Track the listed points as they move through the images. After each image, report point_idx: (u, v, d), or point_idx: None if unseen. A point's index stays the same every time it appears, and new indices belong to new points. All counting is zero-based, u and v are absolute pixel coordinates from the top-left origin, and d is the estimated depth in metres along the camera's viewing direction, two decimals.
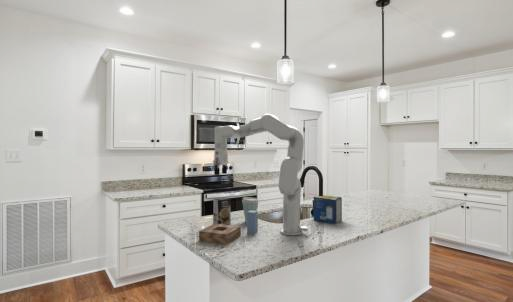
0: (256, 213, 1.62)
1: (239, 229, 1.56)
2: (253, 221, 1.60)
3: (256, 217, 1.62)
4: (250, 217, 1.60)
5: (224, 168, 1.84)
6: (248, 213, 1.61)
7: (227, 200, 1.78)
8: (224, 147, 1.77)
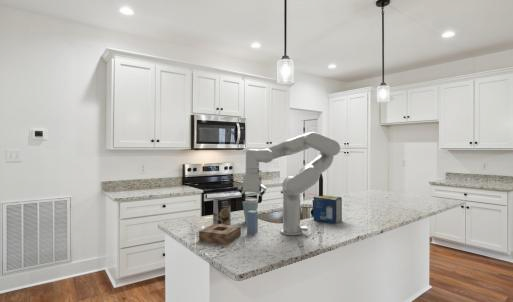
0: (256, 213, 1.62)
1: (239, 229, 1.56)
2: (253, 221, 1.60)
3: (256, 217, 1.62)
4: (250, 217, 1.60)
5: (244, 195, 1.64)
6: (248, 213, 1.61)
7: (227, 200, 1.78)
8: None
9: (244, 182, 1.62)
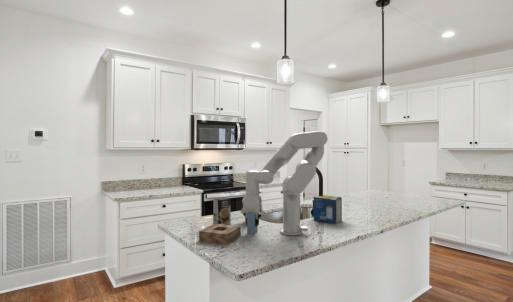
0: None
1: (239, 229, 1.56)
2: (253, 221, 1.60)
3: None
4: (250, 217, 1.60)
5: None
6: (248, 213, 1.61)
7: (227, 200, 1.78)
8: None
9: (244, 204, 1.62)
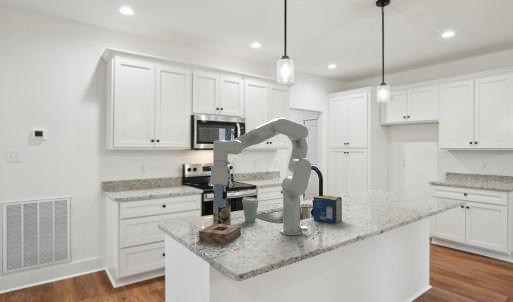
0: None
1: (239, 229, 1.56)
2: (220, 193, 1.50)
3: None
4: (218, 189, 1.51)
5: None
6: (215, 185, 1.51)
7: (227, 200, 1.78)
8: None
9: (212, 175, 1.52)
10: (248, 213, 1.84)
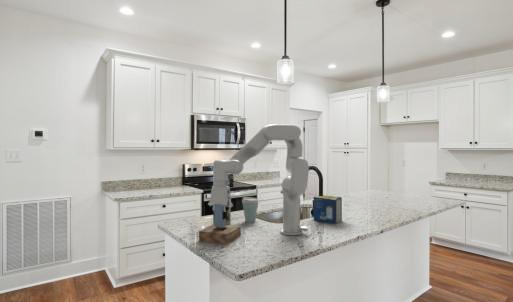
0: None
1: (239, 229, 1.56)
2: (220, 214, 1.50)
3: None
4: (218, 209, 1.51)
5: None
6: (215, 205, 1.51)
7: None
8: None
9: (212, 195, 1.52)
10: (248, 213, 1.84)
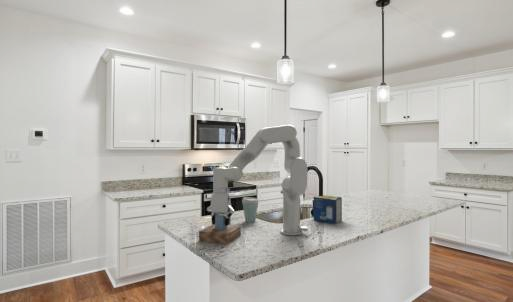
0: (225, 217, 1.52)
1: (239, 229, 1.56)
2: (221, 226, 1.50)
3: None
4: (218, 221, 1.51)
5: None
6: (216, 217, 1.51)
7: None
8: None
9: (212, 202, 1.52)
10: (248, 213, 1.84)
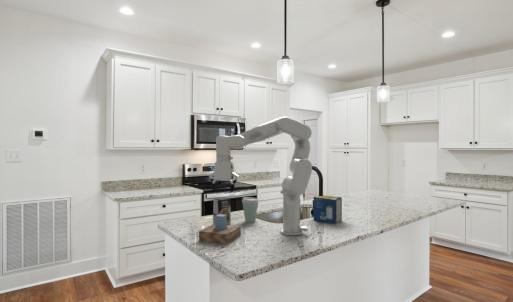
0: (225, 217, 1.52)
1: (239, 229, 1.56)
2: (221, 226, 1.50)
3: (225, 221, 1.52)
4: (218, 222, 1.51)
5: (216, 184, 1.56)
6: (216, 217, 1.51)
7: (227, 200, 1.78)
8: None
9: (215, 170, 1.54)
10: (248, 213, 1.84)
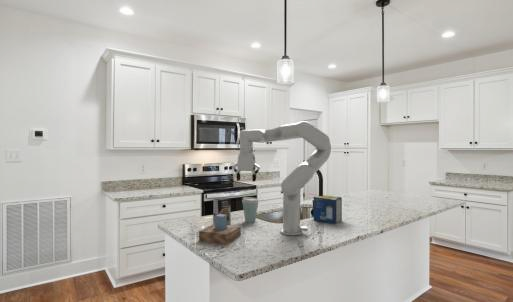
0: (225, 217, 1.52)
1: (239, 229, 1.56)
2: (221, 226, 1.50)
3: (225, 221, 1.52)
4: (218, 222, 1.51)
5: (239, 174, 1.71)
6: (216, 217, 1.51)
7: (227, 200, 1.78)
8: None
9: (239, 162, 1.68)
10: (248, 213, 1.84)
